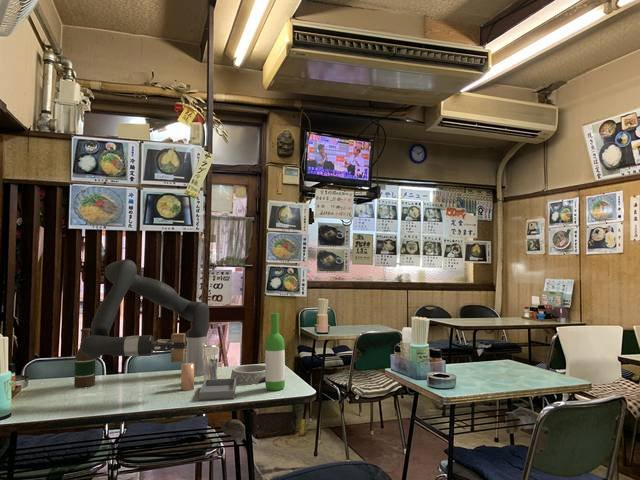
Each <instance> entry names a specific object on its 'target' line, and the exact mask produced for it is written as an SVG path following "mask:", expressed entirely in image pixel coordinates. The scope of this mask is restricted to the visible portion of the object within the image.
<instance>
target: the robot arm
mask: <svg viewBox="0 0 640 480" xmlns="http://www.w3.org/2000/svg"><path fill="white" fill-rule="evenodd" d="M137 272H138V267H137V265H136V263H135V262H134V261H133V260H131V259H121V260H116V261H113V262H110V263H109V264H107V266H106V267H105V269H104V275H105V278H106V279H107V280H108V281H109V282H110V283H112V286H111V288H110V290H109V292H108V293H107V295H106V296H105V297H104V299H103V300H102V302H100V304H99V306H98V308H97V309H96V312H95V314H94V317H93V319H92V322H91V324H90V330H91V332H90V336H88V337H86V338H84V339H83V340H82V341H81V340H80V343H79V348H80V349H81V351H82V352H83V353H84V354H85V355H86V356H87V357H89V358H91V359H95V360H96V359H99V358H101V357H102V356H103V355H110V356H111V357H150V356H152V355H153V353H154V352H155V353H156V352H166V351H167V352H168V351H169V352H171V350H173V349H184V348H185V363H194V377H198V376H203V375H204V366H203V357H202V356H203V346H207V345H208V332H209V326H210V324H209V323H210V309H209V305H208V304H207V303H206V302H204V301H191V300H189V299H186V298H184V297H182V296H180V295H179V294H178V293H177V291H176V290H175V289H174V288H173V287H172V286H170V285H169V284H166V283H165V282H162V281H160V280H158V279H154V278H151V277H145V276H142V275H139V274H138V273H137ZM129 290H130V291H132V292H134V293H136V294H138V295H139V296H141V297H143V298H145V299H147V300H149V301H150V302H152V303H154V304H156V305H159V306H160V307H162V308H166V309H168V310H170V311H173V312H174V313H176V314H178V315H179V316H180V317H182V318H183V319H185V320H187V321H188V322H192V324H191V328H190V329H187V331H186V332H185V343H184V342H181V343H175V344H174V343H173V342H172V343H171V338H170V339H164V338H162V339H161V338H159V339H157V340H154V336H153V335H151V334H150V335H147V334H146V335H130V336H114V337H113V336H110V332H111V329H112V326H113V323H114V321H115V319H116V315H117V312H118V310H119V308H120V306H121V304H122V302H123V300H124V298H125V296H126V294H127V293H128V291H129Z"/></svg>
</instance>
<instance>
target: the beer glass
mask: <svg viewBox="0 0 640 480" xmlns="http://www.w3.org/2000/svg"><path fill="white" fill-rule="evenodd" d="M219 349H220V348H219V345H216V344H210V345H209V344H207V346H203V356H202V357H203V366H204V376H203V383H204V381H205V380H207V379H219V377H218V368H219V363H220V362H219V361H220V350H219Z"/></svg>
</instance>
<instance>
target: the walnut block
mask: <svg viewBox="0 0 640 480" xmlns="http://www.w3.org/2000/svg"><path fill="white" fill-rule="evenodd" d="M170 340H171V343H172V342H173V343H174V344H175V343H181V342H184V343H185V340H186V332H182V333H181V332H180V333H176V332H175V333H172V334H170ZM185 361H186V347H185V348H184V349H173V350H170V362H171V363H184V362H185Z"/></svg>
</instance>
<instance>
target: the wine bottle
mask: <svg viewBox="0 0 640 480" xmlns="http://www.w3.org/2000/svg"><path fill="white" fill-rule="evenodd" d="M264 343H265V345H264V346H265V349H264V351H265V352H264V353H265V355H264V356H265V361H264V363H265V364H264V366H265V380H264V381H265V389H266V390H268V391H275V392H277V391H281V390H284V388H285V386H286V382H285V381H286V376H285V375H286V372H285V371H286V368H285V367H286V366H285V364H286V363H285V361H286V360H285V359H286V357H285V339H284V337H283V336H282V335H281V334H280V332H279V313H278V312H271V313H270V334H268V336H267V337H266V339H265V341H264Z"/></svg>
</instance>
